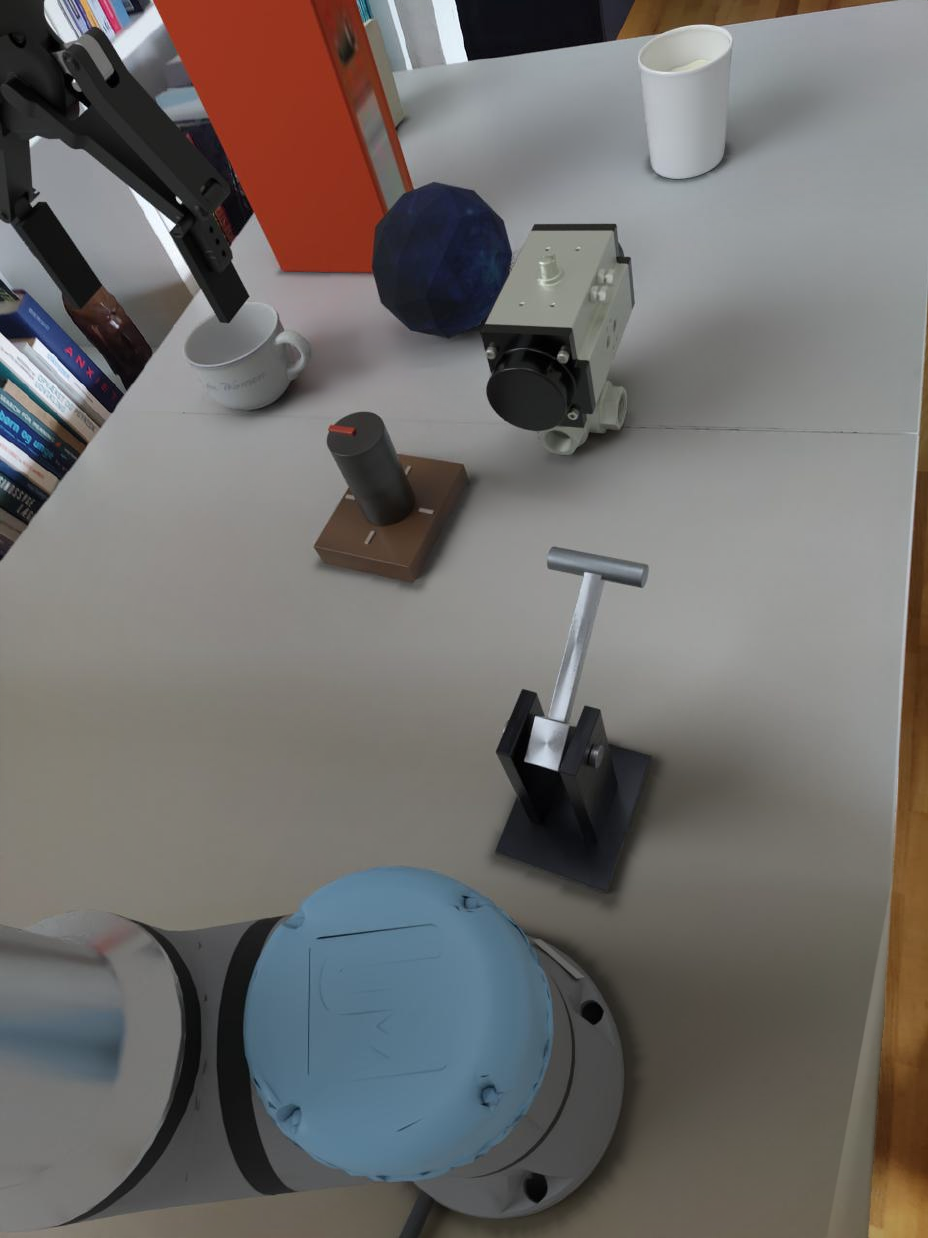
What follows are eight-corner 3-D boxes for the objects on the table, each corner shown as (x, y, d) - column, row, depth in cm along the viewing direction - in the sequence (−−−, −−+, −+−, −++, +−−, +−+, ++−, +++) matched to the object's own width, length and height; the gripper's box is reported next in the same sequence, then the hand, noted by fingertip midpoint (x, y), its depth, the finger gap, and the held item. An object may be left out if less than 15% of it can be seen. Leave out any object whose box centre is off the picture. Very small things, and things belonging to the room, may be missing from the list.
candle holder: (628, 160, 102) (620, 53, 92) (699, 125, 103) (698, 14, 93) (674, 194, 96) (669, 82, 87) (748, 156, 97) (752, 41, 87)
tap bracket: (547, 732, 64) (515, 644, 53) (652, 762, 60) (640, 674, 50) (498, 857, 59) (453, 787, 49) (607, 896, 56) (584, 831, 46)
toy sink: (364, 116, 124) (331, 16, 114) (406, 117, 121) (376, 14, 111) (334, 150, 121) (298, 50, 110) (376, 151, 118) (343, 49, 107)
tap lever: (559, 550, 54) (548, 542, 52) (651, 568, 51) (644, 560, 49) (507, 752, 53) (494, 752, 51) (599, 780, 51) (589, 781, 49)
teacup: (198, 414, 95) (161, 358, 89) (252, 349, 99) (220, 291, 93) (295, 436, 89) (262, 378, 83) (347, 366, 93) (320, 305, 87)
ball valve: (600, 501, 75) (574, 338, 60) (510, 490, 78) (464, 333, 63) (650, 360, 83) (637, 186, 68) (567, 355, 86) (538, 188, 72)
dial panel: (417, 584, 74) (408, 566, 72) (323, 562, 78) (312, 545, 76) (470, 481, 80) (463, 462, 77) (379, 466, 84) (370, 447, 81)
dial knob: (424, 487, 77) (393, 412, 70) (400, 530, 75) (366, 456, 67) (377, 479, 79) (342, 405, 72) (353, 520, 77) (314, 448, 69)
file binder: (403, 275, 100) (295, -41, 74) (281, 273, 107) (144, -18, 81) (427, 233, 104) (333, -83, 78) (308, 233, 111) (185, -58, 85)
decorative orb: (506, 204, 94) (400, 129, 84) (563, 270, 85) (451, 195, 75) (433, 311, 101) (327, 254, 91) (479, 383, 92) (367, 328, 82)
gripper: (162, -130, 38) (332, 277, 56) (-166, -69, 48) (63, 260, 66) (63, -51, 35) (276, 355, 52) (-266, -3, 45) (3, 325, 62)
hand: (158, 303), depth 59 cm, fingers open, 13 cm apart
